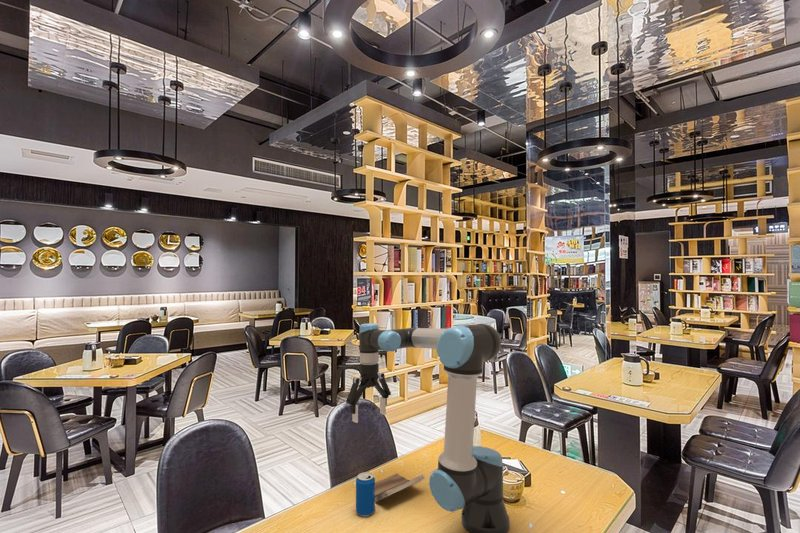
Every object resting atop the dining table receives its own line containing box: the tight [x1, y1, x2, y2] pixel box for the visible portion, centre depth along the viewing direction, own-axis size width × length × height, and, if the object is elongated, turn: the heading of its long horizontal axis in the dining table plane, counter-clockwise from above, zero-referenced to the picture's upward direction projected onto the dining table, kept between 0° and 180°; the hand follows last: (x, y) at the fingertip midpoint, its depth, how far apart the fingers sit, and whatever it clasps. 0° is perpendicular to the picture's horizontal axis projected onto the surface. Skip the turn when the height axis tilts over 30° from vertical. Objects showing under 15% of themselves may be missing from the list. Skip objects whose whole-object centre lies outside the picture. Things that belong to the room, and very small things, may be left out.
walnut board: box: [375, 473, 410, 497], centre depth 148 cm, size 8×18×2 cm, turn 132°
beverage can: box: [355, 471, 376, 518], centre depth 133 cm, size 6×6×12 cm
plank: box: [375, 474, 425, 503], centre depth 142 cm, size 8×18×2 cm
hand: (369, 418), depth 153 cm, fingers open, 13 cm apart
